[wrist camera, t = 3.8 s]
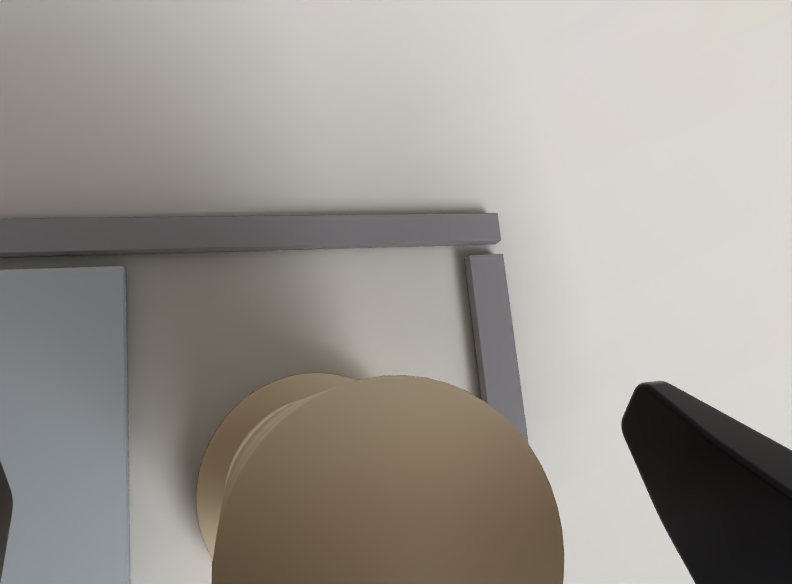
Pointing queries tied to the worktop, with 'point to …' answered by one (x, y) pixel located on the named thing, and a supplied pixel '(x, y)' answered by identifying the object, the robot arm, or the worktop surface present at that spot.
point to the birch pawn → (375, 488)
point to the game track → (107, 363)
